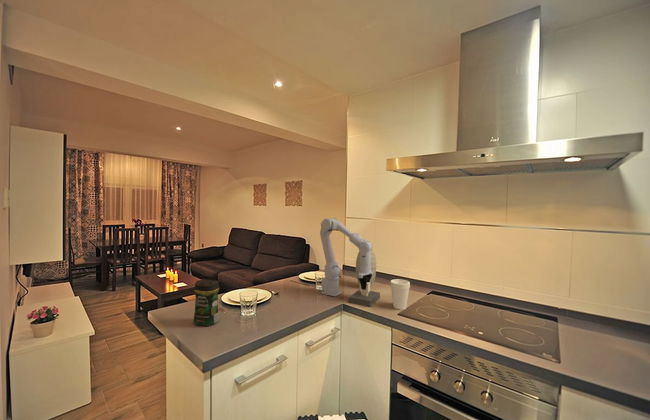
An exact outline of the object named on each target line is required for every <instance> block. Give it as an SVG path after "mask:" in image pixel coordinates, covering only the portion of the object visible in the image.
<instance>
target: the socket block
mask: <svg viewBox="0 0 650 420" xmlns="http://www.w3.org/2000/svg"><path fill="white" fill-rule="evenodd" d="M380 298H381V292H378V291H373V290H370V292H368V296H363V295H361V291H360V288H359V289H358V290H357V291H355V292H354V293H352V294H350V295H349V296H348V303H350V304H353V305H354V304H355V305H359V306H363V307H368V308H371V307H372V306H373V305H374V304H375V303H376V302H377V301H378V300H380Z"/></svg>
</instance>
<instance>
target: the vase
mask: <svg viewBox="0 0 650 420" xmlns="http://www.w3.org/2000/svg"><path fill="white" fill-rule="evenodd" d="M359 272H360V251H359V250H358V252H357V257H356V259H355V275H356V280H357V282H358V285H359V286H360V281H359V279H358V274H359ZM371 272H373V274H372V277H371V279H370V289H371V287H372V286H373V285H374V283H375V279H376V273H377V260H376V255H375V253H374V251H373V249H372V250H371Z"/></svg>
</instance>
